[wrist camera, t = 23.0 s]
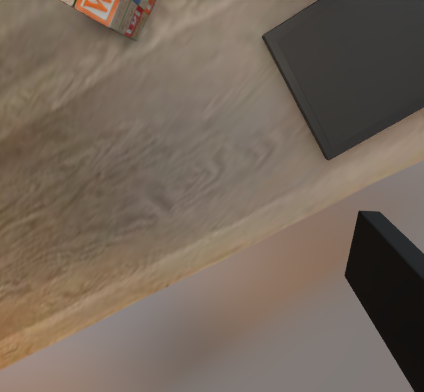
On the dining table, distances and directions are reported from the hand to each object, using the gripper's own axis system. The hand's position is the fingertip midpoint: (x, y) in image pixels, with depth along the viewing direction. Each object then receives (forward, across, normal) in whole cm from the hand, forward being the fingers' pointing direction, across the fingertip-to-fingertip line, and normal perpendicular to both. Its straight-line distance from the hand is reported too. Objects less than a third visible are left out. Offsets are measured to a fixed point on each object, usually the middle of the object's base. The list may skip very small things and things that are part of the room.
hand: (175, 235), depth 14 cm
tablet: (+33, +20, +7) cm, 39 cm away
